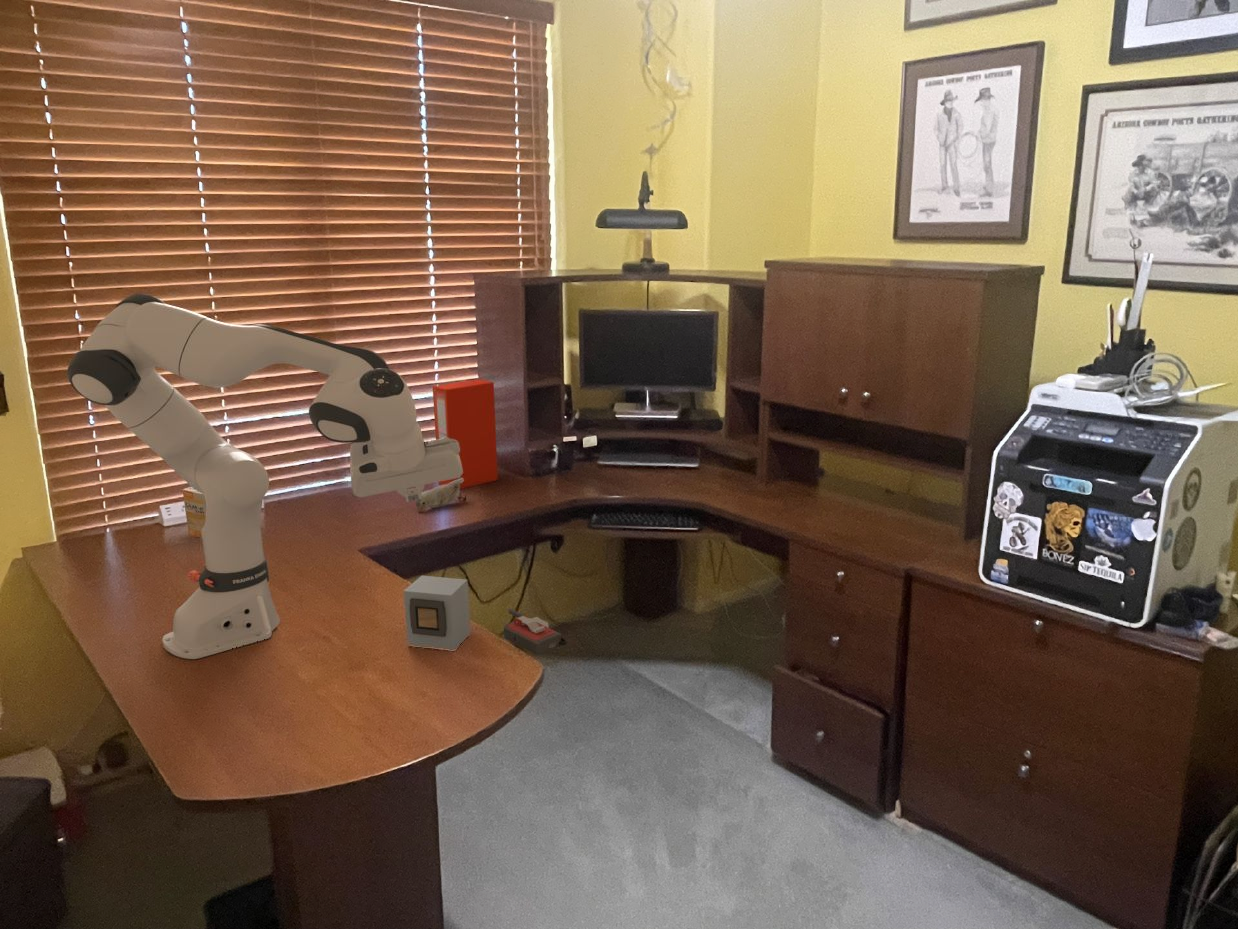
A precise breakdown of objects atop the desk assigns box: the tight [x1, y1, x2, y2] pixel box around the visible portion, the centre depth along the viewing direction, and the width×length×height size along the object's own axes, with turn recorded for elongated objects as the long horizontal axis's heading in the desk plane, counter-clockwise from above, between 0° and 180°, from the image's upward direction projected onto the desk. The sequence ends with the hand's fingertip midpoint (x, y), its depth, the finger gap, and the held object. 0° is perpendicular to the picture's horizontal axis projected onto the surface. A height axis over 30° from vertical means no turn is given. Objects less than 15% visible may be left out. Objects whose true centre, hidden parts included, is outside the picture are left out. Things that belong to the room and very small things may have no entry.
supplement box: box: [182, 486, 206, 539], centre depth 244 cm, size 8×5×13 cm, turn 62°
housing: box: [403, 575, 472, 650], centre depth 181 cm, size 9×10×12 cm
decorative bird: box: [415, 478, 468, 514], centre depth 266 cm, size 5×16×8 cm, turn 132°
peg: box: [418, 607, 439, 628], centre depth 184 cm, size 14×4×4 cm, turn 166°
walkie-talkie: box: [503, 608, 568, 656], centre depth 185 cm, size 9×4×20 cm
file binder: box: [432, 378, 499, 490], centre depth 286 cm, size 8×17×32 cm, turn 132°
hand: (414, 498), depth 173 cm, fingers closed
